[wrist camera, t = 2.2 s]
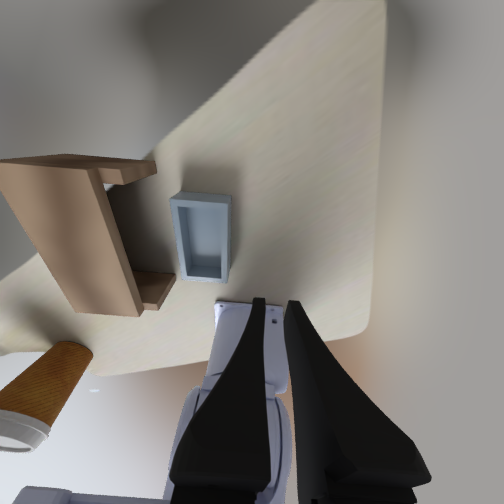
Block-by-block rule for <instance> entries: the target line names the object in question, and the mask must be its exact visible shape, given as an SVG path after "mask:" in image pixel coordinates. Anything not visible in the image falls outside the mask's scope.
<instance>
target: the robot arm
mask: <svg viewBox="0 0 504 504" xmlns="http://www.w3.org/2000/svg"><path fill="white" fill-rule="evenodd" d="M215 328H216V332H215V336H214V341H213V345H212V349H211V354H210V358H209V363H208V368H207V372H206V376H204V379H203V384H202V388H201V390H200V386H195V387H194V388H193V389H192V390H191V391H189V392H188V394H187V397H186V400H185V403H184V406H183V409H182V413H181V416H180V420H179V423H178V427H177V431H176V435H175V439H174V443H173V447H172V451H171V456H170V461H169V467H168V470H169V473H168V478H167V482H166V487H165V491H164V495H163V500H162V499H148V498H135V497H119V496H107V495H93V494H79V493H72V491H69V490H65V489H59V488H48V487H34V486H26V487H24V488H23V489H22V490H21V491H20V493H19V494H18V496H17V497H16V499H15V500H14V502H13V503H12V504H284V503H285V493H286V485H287V480H288V477H289V474H290V469H291V461H292V434H291V425H290V419H289V415H288V412H287V409H286V407H285V406H284V404H283V402H282V400H281V399H280V398H279V397H275V394H278V393H279V394H280V393H285V392H286V389H287V384H288V373H289V371H290V377H291V385H292V397H293V410H294V424H295V442H296V461H297V485H298V486H297V489H298V501H299V504H414V503H417V499H416V497H415V494H414V492H413V490H412V488H413V487H416V486H419V485H423V484H426V483H429V482H430V481H431V478H432V477H431V475H430V473H429V471H428V469H427V467H426V465H425V462H424V460H423V458H422V456H421V454H420V453H419V451H418V449H417V447H416V445H415V444H414V442H413V441H412V440H411V439H410V438H409V437H408V436H407V435H406V434H405V433H404V432H403V431H402V430H401V429H400V428H398V426H396V425H395V424H394V423H393V422H392V421H391V420H390V419H389V418H388V417H387V416H386V415H385V414H384V413H383V412H382V411H381V410H380V409H379V408H378V407H377V406H376V405H375V404H374V403H373V402H372V401H371V400H370V398H369V397H368V396H367V395H366V394H365V393H364V392H363V391H362V390H361V389H360V387H358V385H357V384H356V383H355V382H354V381H353V380H352V378H351V377H350V376H349V375H348V374H347V373H346V371H345V370H344V369H343V368H342V367H341V365H340V364H339V363H338V361H337V360H336V359H335V358H334V356H333V355H332V353H331V352H330V351H329V349H328V348H327V346H326V345H325V343H324V342H323V341H322V339H321V337H320V336H319V334H318V333H317V331H316V330H315V328H314V326H313V325H312V323H311V321H310V320H309V318H308V316H307V315H306V313H305V311H304V309H303V307H302V305H301V303H300V302H299V301H294V300H289V301H288V305H287V309H286V313H285V316H284V320H283V307H281V306H271V305H266V303H265V298H257V297H255V298H253V304H245V303H233V302H220V301H217V302H215ZM288 365H289V367H288Z"/></svg>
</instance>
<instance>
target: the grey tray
mask: <svg viewBox="0 0 504 504" xmlns="http://www.w3.org/2000/svg"><path fill="white" fill-rule="evenodd" d="M169 200H170V206H171V213H172V219H173V225H174V232H175V238H176V245H177V251H178V257H179V264H180V270H181V277H182V280H190V281H203V282H216V283H227V281H228V277H229V272H230V252H231V195H220V194H208V193H196V192H184V191H180V192H179V193H177V194H176V195H174V196H173V197H171V198H170V199H169Z"/></svg>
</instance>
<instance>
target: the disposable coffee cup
mask: <svg viewBox="0 0 504 504" xmlns="http://www.w3.org/2000/svg"><path fill="white" fill-rule="evenodd" d="M92 358H93V354H92V353H91V352H90V351H89V350H88V349H87V348H85V347H84V346H81V345H79V344H77V343H73V342H67V341H63V342H58V343H57V344H55V345H54V346H53V347H52V348H51V349H50V350H48V351H47V352H46V353H45V354H44V355H42V356H41V357H40V358H39V359H38V360H36V361H35V362H34V363H33V364H32V365H31V366H29V367H28V368H27V369H26V370H25V371H23V372H22V373H21V374H20V375H19V376H17V377H16V378H15V379H14V380H13V381H11V382H10V383H9V384H8V385H7V386H5V387H4V388H3V389H2V390H1V391H0V451H4V452H14V453H29V452H33V451H34V450H35V449H36V448H37V447H38V446H39V445H40V444H41V443H42V441H45V440H46V439H47V438H48V436H49V435H48V434H49V432H50V428H51V426H52V424H53V423H54V421H55V419H56V418H57V416H58V415H59V413H60V411H61V410H62V408H63V406H64V405H65V403H66V401H67V400H68V398H69V396H70V395H71V393H72V391H73V389H74V388H75V386H76V385H77V383H78V381H79V380H80V378H81V376H82V375H83V373H84V371H85V370H86V368H87V366H88V365H89V363H90V361H91V360H92Z"/></svg>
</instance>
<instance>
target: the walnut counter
mask: <svg viewBox="0 0 504 504" xmlns="http://www.w3.org/2000/svg"><path fill="white" fill-rule="evenodd" d="M156 173H157V171H156V165H155V161H144V160H132V159H121V158H109V157H98V156H97V157H96V156H85V155H74V154H58V155H47V156H35V157H24V158H12V159H1V160H0V191H1V192H2V194H3V196H4V197H5V199H6V200H7V202H8V204H9V205H10V207H11V209H12V210H13V212H14V213H15V215H16V216H17V218H18V220H19V222H20V223H21V225H22V226H23V228H24V230H25V231H26V233H27V234H28V236H29V238H30V239H31V241H32V243H33V244H34V246H35V248H36V249H37V251H38V252H39V254H40V256H41V257H42V259H43V261H44V262H45V264H46V265H47V267H48V269H49V270H50V272H51V274H52V275H53V277H54V278H55V280H56V282H57V283H58V285H59V286H60V288H61V290H62V291H63V293H64V295H65V296H66V298H67V299H68V301H69V303H70V304H71V306H72V308H73V309H74V311H75V312H78V313H91V314H104V315H117V316H130V317H140V315H141V314H142V312H143V311H144V310H156V311H158V310H159V309H160V307H161V305H162V304H163V302H164V300H165V298H166V297H167V295H168V293H169V292H170V290H171V288H172V286H173V285H174V283H175V281H176V277H175V274H166V273H154V272H141V271H132V270H131V267H130V264H129V261H128V258H127V255H126V252H125V249H124V246H123V243H122V240H121V237H120V234H119V231H118V228H117V225H116V222H115V219H114V216H113V213H112V210H111V207H110V204H109V201H108V198H107V195H106V191H105V188H104V185H103V183H108V184H120V185H125V184H128V183H131V182H134V181H136V180H139V179H142V178H145V177H148V176H150V175H153V174H156Z"/></svg>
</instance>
